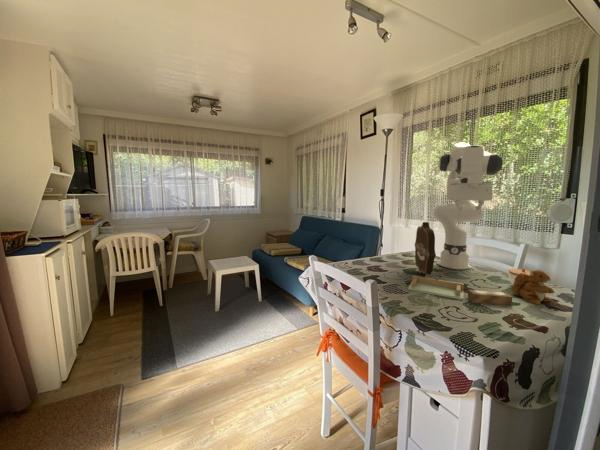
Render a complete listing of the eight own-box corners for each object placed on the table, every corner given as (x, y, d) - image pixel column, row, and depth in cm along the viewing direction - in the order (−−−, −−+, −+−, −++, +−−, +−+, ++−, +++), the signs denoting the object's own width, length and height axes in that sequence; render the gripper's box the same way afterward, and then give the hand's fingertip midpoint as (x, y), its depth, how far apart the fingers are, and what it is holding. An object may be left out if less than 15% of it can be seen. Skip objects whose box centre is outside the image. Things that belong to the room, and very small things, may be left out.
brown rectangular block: (472, 303, 104) (473, 293, 104) (467, 298, 109) (468, 289, 109) (511, 306, 102) (512, 296, 101) (504, 301, 106) (505, 291, 106)
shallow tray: (411, 282, 127) (412, 273, 127) (463, 291, 116) (464, 281, 115) (408, 289, 118) (408, 279, 118) (463, 300, 106) (464, 289, 106)
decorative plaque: (434, 285, 124) (438, 225, 120) (427, 285, 125) (431, 225, 121) (418, 268, 153) (421, 219, 149) (413, 267, 154) (415, 219, 150)
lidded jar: (528, 293, 115) (530, 273, 113) (502, 285, 124) (504, 266, 123) (541, 289, 118) (544, 270, 117) (515, 282, 128) (517, 264, 127)
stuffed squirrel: (539, 306, 101) (543, 275, 99) (503, 293, 114) (506, 265, 113) (556, 303, 104) (560, 272, 102) (519, 291, 117) (522, 263, 115)
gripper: (486, 181, 119) (484, 210, 121) (445, 180, 118) (444, 209, 119) (497, 180, 113) (495, 210, 115) (455, 179, 112) (453, 210, 113)
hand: (468, 210), depth 117 cm, fingers open, 8 cm apart
